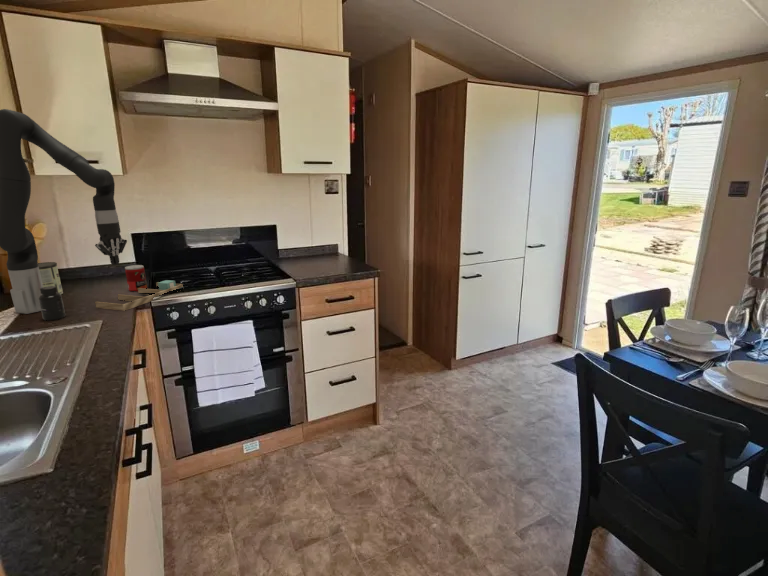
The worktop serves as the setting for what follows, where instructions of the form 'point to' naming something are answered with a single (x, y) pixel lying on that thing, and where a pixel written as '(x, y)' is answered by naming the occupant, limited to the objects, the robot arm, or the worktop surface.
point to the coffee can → (50, 275)
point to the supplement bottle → (51, 304)
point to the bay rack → (135, 298)
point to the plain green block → (166, 284)
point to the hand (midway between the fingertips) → (115, 264)
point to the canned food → (135, 277)
